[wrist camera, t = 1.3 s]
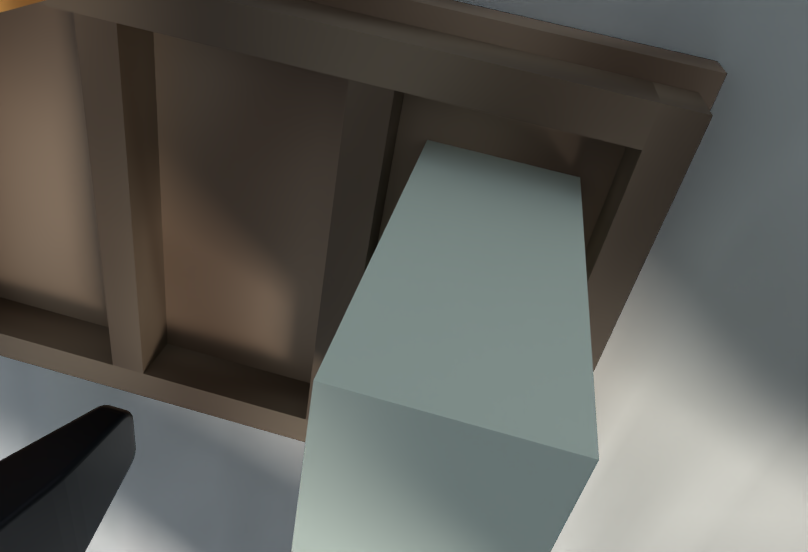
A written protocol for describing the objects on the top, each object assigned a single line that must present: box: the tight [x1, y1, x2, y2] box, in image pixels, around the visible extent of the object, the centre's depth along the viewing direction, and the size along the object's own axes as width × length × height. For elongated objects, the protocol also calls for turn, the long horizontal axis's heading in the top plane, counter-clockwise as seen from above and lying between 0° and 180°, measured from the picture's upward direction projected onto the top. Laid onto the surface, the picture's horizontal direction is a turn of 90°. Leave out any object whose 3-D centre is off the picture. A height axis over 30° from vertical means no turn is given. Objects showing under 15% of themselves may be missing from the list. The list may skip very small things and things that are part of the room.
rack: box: [0, 0, 727, 442], centre depth 13 cm, size 16×11×4 cm, turn 80°
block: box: [291, 140, 599, 552], centre depth 11 cm, size 3×6×7 cm, turn 170°
